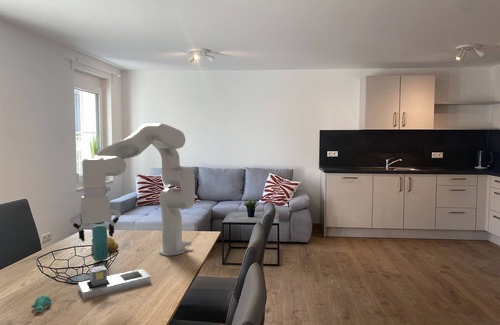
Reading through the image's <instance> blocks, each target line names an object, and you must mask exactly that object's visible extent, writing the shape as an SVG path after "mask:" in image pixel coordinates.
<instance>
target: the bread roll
mask: <svg viewBox="0 0 500 325" xmlns="http://www.w3.org/2000/svg"><path fill="white" fill-rule="evenodd" d="M107 238H108V239H107V240H108V241H107V243H108V253H110V252H114V251H117V250H118V249H119V248H120V247H119V246H120V245H119V244H118V242H115V239H114V238H113V237H111V236H110V237H109V236H108V237H107ZM92 244H93V237H92V239H91V247H90V248H91V249H90V250H91V253H93V245H92Z"/></svg>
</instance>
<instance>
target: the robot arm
mask: <svg viewBox="0 0 500 325" xmlns="http://www.w3.org/2000/svg"><path fill="white" fill-rule="evenodd" d="M185 144H186V136H185V134H184V133H183V131H182V130H180V129H177V128H176V127H173V126H170V125H168V124H165V123H145V124H142V125H141V126H140V127H138V128H137V129H136V130H135V131H133V132H132V133H131V134H130V135H129V136H127V137H125V138H124V139H121V140H119V141H116V142H115V143H113V144H110V145H107V146H106V147H104V148H102V149H101V150H99V151H98V152H97V153H96V154H94V155H93V156H92V157H89V158H84V159H83V160H82V162H81V167H82V168H81V169H82V189H83V195H82V196H80V197H81V198H80V201H79V202H80V203H79V204H80V205H79V212H78V213H77V214H76V215H73V216H71V218H70V217H69V221H70V223H71V224H72V226H73V227H74V228H75V229H76V230H78V239H79V240H81V242H85V230H84V228H85V227H86V226H87V225H96V224H95V223H102V222H104V223H108V235H109V236H110V238H113V237H114V234H115V225H116V224H117V222H118V221H119V219H120V217H121V215H122V212H120V211H118V210H114V209H111V201H110V197H109V194H108V192H110V191H111V187H108V186H107V182H106V181H107V180H106V177H118V176H121V175H123V173H124V172H126V170H127V164H126V161H125V159H126V160H127V159H131V158H135V157H138V156H139V155H141V154H142V153H143V152H144V151H145V150H146V149H147V148H149V147H150V146H151V145H152V146H153V147H154V148H155V149H156V150H157V151H158V153H159V154H160V157H161V158H160V159H161V180H162V183H163V184H164V185H165V186H166V185H167V186H172V187H168V188H164V189H162V190H161V191H160V193H159V195H158V201H159V206H160V211H161V235H162V242H161V243H162V244H161V247H162V248H160V249H159V250H158V251H159V254H160V255H162V256H167V257H169V256H172V257H173V256H178V255H182V254H184V253H185V252H186V247H188V246H192V241H191V240H190V241H186V240H185V241H183V225H182V224H183V223H182V222H183V220H182V218H183V217H182V213H181V211H180V209H181V210H182V209H183V210H189V209H191V208H193V206H194V203H195V200H196V195H195V194H196V193H195V192H196V189H195V186H196V185H195V184H196V183H195V173H194V170H193V169H192V168H191V167H189V166H181V163H180V161H181V160H180V155H179V152H178V149H181V148H183V147H184V146H185ZM173 186H174V188H173ZM176 187H180V188H176ZM112 214H113V215H115V217H114V218H113V217H112ZM112 218H113V219H112ZM78 219H80V223H79V224H78V223H77V222H76V221H77V220H78Z"/></svg>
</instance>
